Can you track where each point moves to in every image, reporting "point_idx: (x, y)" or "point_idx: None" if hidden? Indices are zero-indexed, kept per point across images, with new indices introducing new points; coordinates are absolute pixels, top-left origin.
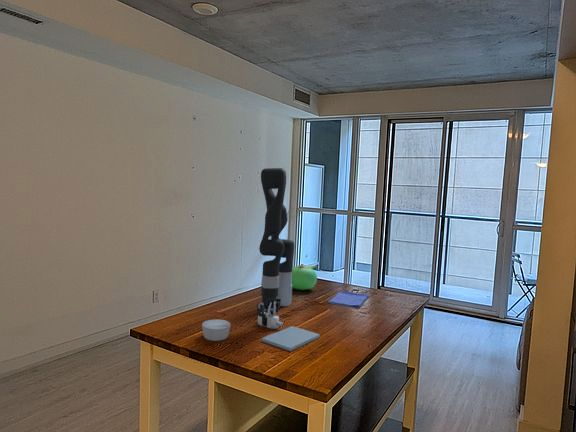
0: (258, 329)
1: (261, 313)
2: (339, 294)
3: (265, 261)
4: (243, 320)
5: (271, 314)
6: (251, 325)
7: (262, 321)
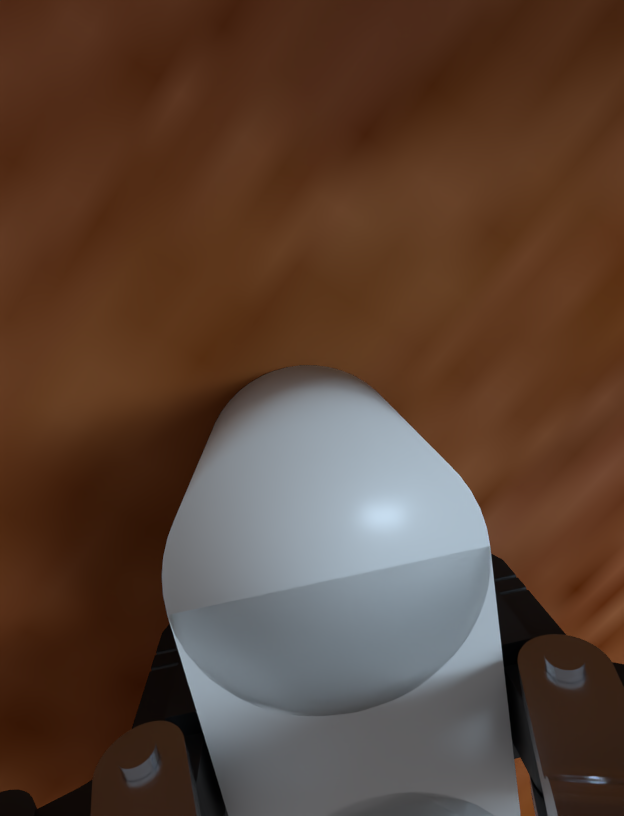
0: (51, 656)
1: (290, 540)
2: None
3: None
4: (55, 29)
5: (478, 744)
6: (46, 425)
7: (158, 680)
